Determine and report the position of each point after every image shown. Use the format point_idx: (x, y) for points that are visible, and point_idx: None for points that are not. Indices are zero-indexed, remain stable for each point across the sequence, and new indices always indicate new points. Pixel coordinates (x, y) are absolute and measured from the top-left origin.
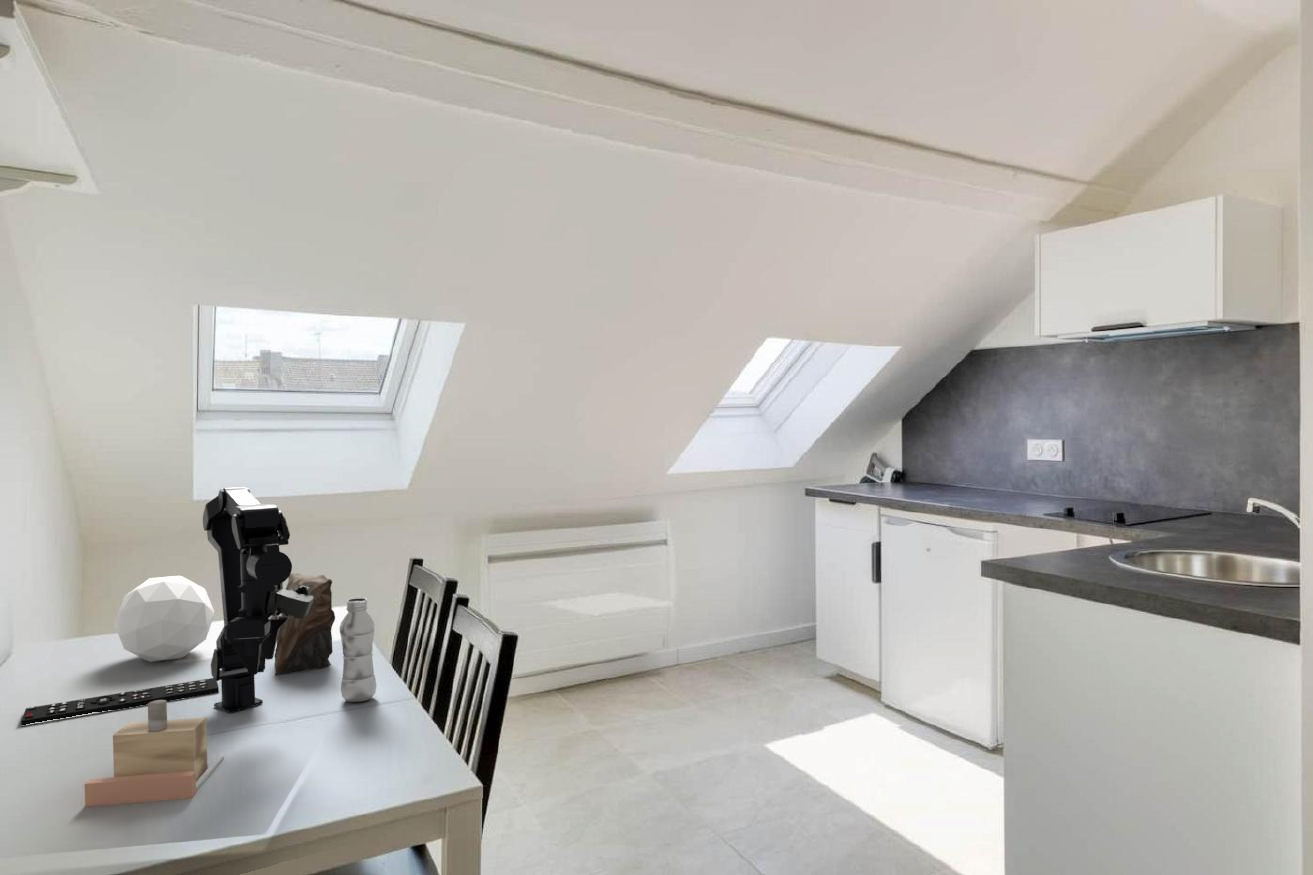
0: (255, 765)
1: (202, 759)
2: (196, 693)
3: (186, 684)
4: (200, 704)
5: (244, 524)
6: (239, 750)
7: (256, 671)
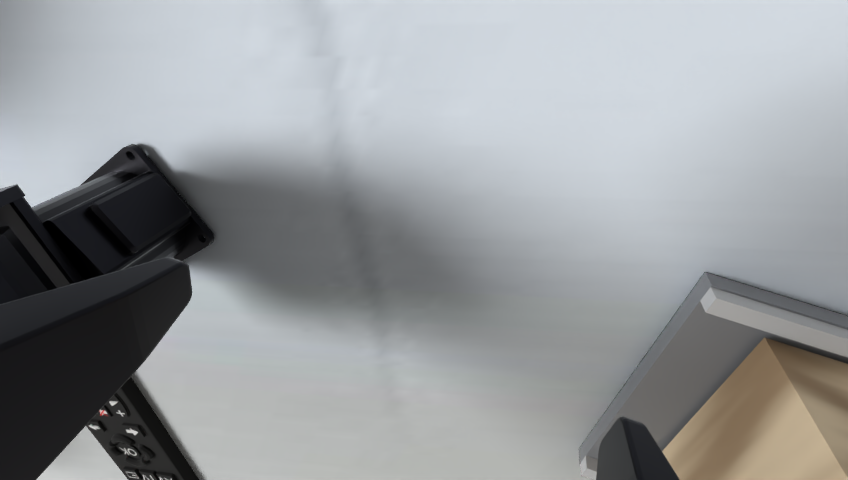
0: (781, 178)
1: (835, 389)
2: None
3: None
4: None
5: None
6: (568, 224)
7: (657, 448)
